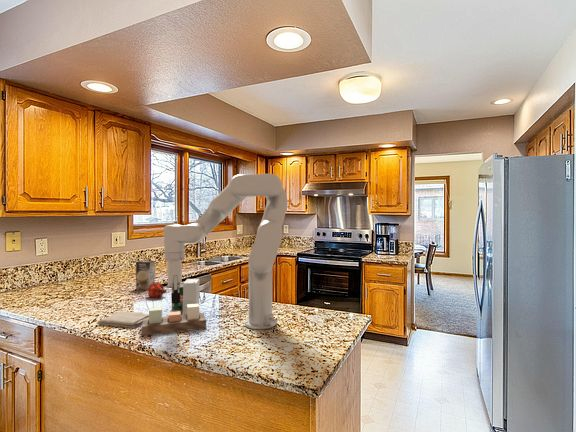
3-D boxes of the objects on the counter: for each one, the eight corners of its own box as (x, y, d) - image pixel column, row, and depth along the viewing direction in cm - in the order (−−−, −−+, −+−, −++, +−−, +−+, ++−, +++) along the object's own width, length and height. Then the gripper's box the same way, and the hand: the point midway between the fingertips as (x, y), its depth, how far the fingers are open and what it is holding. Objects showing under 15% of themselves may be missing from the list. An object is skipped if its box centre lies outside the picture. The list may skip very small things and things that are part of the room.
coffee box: (135, 288, 195) (135, 261, 195) (141, 286, 201) (141, 260, 201) (149, 289, 193) (149, 262, 193) (155, 287, 200) (155, 260, 200)
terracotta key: (180, 323, 132) (180, 311, 132) (180, 327, 128) (180, 314, 128) (168, 324, 131) (168, 312, 131) (168, 328, 126) (168, 315, 126)
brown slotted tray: (203, 320, 138) (203, 312, 138) (205, 328, 128) (206, 320, 128) (143, 326, 130) (143, 318, 130) (141, 335, 121) (141, 326, 121)
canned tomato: (181, 305, 160) (181, 282, 160) (192, 307, 156) (192, 284, 156) (167, 309, 154) (167, 285, 153) (179, 311, 150) (179, 287, 149)
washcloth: (135, 329, 128) (135, 321, 128) (96, 326, 132) (96, 318, 132) (154, 320, 140) (154, 312, 140) (117, 317, 144) (117, 310, 144)
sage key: (161, 319, 130) (161, 306, 130) (161, 322, 126) (161, 309, 125) (149, 320, 128) (149, 307, 128) (149, 324, 124) (149, 311, 124)
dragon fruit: (152, 297, 182) (161, 304, 173) (140, 290, 176) (149, 297, 168) (162, 283, 184) (171, 290, 176) (150, 276, 179) (159, 283, 171)
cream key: (198, 315, 134) (198, 303, 134) (199, 318, 130) (199, 306, 130) (186, 316, 133) (186, 304, 133) (187, 320, 129) (187, 307, 129)
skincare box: (186, 311, 151) (186, 278, 151) (199, 310, 151) (199, 278, 151) (182, 316, 142) (182, 282, 142) (196, 316, 143) (196, 282, 143)
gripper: (164, 254, 135) (165, 299, 135) (164, 259, 121) (165, 309, 121) (184, 253, 137) (185, 297, 138) (185, 258, 123) (186, 306, 123)
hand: (175, 302), depth 129 cm, fingers closed
